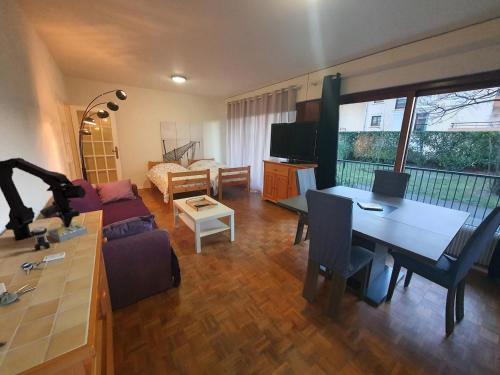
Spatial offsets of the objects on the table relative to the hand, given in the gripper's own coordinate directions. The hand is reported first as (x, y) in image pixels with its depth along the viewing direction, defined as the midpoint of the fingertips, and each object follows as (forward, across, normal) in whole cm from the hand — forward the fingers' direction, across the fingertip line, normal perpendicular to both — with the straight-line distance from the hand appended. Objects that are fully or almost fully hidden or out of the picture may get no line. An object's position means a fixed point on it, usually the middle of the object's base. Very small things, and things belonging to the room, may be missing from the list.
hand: (67, 227), depth 110 cm
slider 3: (+1, -3, +4) cm, 5 cm away
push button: (+4, +7, -13) cm, 15 cm away
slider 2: (+1, -2, 0) cm, 3 cm away
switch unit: (+4, -1, 0) cm, 4 cm away
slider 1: (+1, +3, -4) cm, 5 cm away
